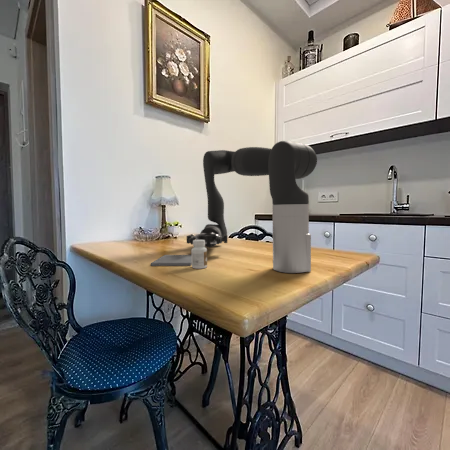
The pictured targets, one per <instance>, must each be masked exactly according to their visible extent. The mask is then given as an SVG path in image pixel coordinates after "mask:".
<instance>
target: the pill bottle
mask: <svg viewBox="0 0 450 450" xmlns="http://www.w3.org/2000/svg"><path fill="white" fill-rule="evenodd" d="M204 245H205V240H196V239H195V240H193V244H192V246H193V247H192V248H191V251H190V253H191V255H192V265H191V267H192V268H193V269H198V270H199V269H206V268H207V267H208V249H207V248H208V247H206V246H204Z"/></svg>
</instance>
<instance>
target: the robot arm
mask: <svg viewBox="0 0 450 450" xmlns="http://www.w3.org/2000/svg"><path fill="white" fill-rule="evenodd" d="M317 164H318V157H317V153H316V152H315V150H314V149H313V148H312V147H311V146H310V145H308V144H305V143H301V142H295V141H286V140H281V141H278V142H276V143H275V144H273V146H272V148H269V147H262V146H261V147H258V146H247V147H242V148H239V149H237V150H235V151H232V150H225V149H222V150H221V149H219V150H218V149H217V150H207V151H206V152H205V153H204V155H203V159H202V167H203V174H204V181H205V182H204V183H205V188H206V189H205V190H206V196H207V198H206V199H207V220H208V221H210V222H212V223H211V224H210V223H208V224H207V223H206V225H205V226H204V228H203V229H202V230H201V232H200V233H196V234H195V235H194V234H193V233H192V234H189V235H186V244H190V245H192V246H193V240H205V245H204V247H205V248H212V247H215V246H216V245H219V244H222V243H224V244H228V229H227V227H226V224H225V223H226V222H225V216H224V214H225V202H224V198H223V197H222V195H221V193H220V191H219V189H218V187H217V185H216V183H215V175H222V174H223V175H224V174H227V173H231V172H232V173H233V172H234V173H236V174H238V175H240V176H243V177H244V176H245V177H247V176H249V177H257V176H258V177H259V176H260V177H263V176H264V177H265V176H268V183H269V184H268V185H269V194H270V196H271V200H272V269H273V271H276V272H280V273H286V274H296V273H297V274H299V273H305V272H307V273H308V272H312V235H311V233H309V228H310V227H309V226H310V225H309V223H310V222H309V220H310V218H309V217H310V216H309V214H310V213H309V211H310V209H309V208H310V207H309V205H310V204H309V203H310V202H309V197H310V196H309V194H308V193H307V191H304V190H303V189H302V188H300V186H299V185H298V183H297V181H296V180H300V179H304V178H306V177H308V176H309V175H311V174H312V173H313V172H314V171H315V169H316V166H317ZM213 223H215V224H213Z"/></svg>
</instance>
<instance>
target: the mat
mask: <svg viewBox="0 0 450 450" xmlns="http://www.w3.org/2000/svg"><path fill="white" fill-rule="evenodd" d="M150 266H151V267H161V266H162V267H169V266H170V267H183V266H184V267H187V266H189V267H192V254H164V255H162V256H160V257H159V258H157V259H156V260H154V261H151V262H150Z"/></svg>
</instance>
